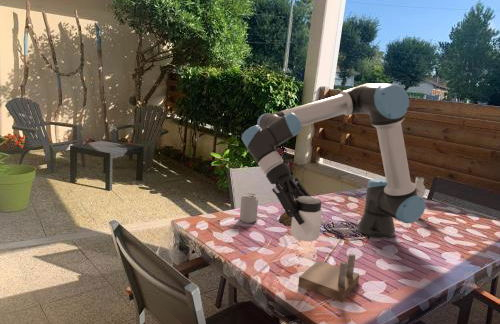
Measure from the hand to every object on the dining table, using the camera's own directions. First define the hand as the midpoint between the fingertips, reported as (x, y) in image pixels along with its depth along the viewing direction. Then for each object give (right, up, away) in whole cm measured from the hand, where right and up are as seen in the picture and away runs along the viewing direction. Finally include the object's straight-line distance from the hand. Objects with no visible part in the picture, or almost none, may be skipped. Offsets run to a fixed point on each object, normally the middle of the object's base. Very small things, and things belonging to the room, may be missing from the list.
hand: (315, 228), depth 117 cm
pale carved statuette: (+60, -7, +68) cm, 91 cm away
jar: (-3, -3, +3) cm, 5 cm away
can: (-21, -6, +50) cm, 55 cm away
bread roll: (-1, -7, +53) cm, 53 cm away
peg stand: (+4, -17, 0) cm, 18 cm away
